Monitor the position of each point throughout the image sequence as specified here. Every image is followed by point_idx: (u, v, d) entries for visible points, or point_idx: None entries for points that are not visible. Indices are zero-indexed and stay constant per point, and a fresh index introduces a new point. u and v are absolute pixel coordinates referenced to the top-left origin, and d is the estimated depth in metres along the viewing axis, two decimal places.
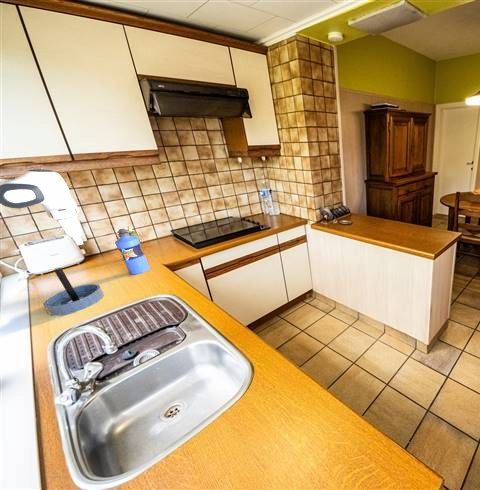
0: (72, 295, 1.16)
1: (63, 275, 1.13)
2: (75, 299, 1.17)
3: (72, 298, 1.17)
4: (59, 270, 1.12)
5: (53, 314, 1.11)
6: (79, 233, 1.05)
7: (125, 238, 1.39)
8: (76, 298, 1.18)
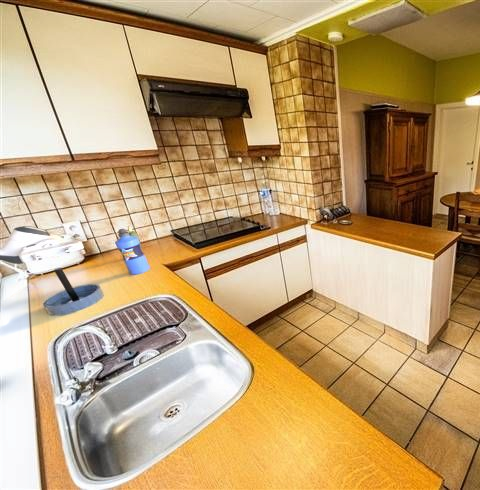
0: (72, 295, 1.16)
1: (63, 275, 1.13)
2: (75, 299, 1.17)
3: (72, 298, 1.17)
4: (59, 270, 1.12)
5: (53, 314, 1.11)
6: (19, 256, 1.19)
7: (125, 238, 1.39)
8: (76, 298, 1.18)
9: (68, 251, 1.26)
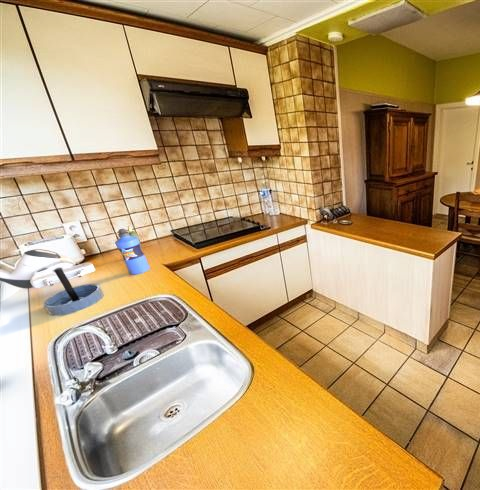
0: (72, 295, 1.16)
1: (63, 275, 1.13)
2: (75, 299, 1.17)
3: (72, 298, 1.17)
4: (59, 270, 1.12)
5: (53, 314, 1.11)
6: (31, 282, 1.16)
7: (125, 238, 1.39)
8: (76, 298, 1.18)
9: (80, 275, 1.23)
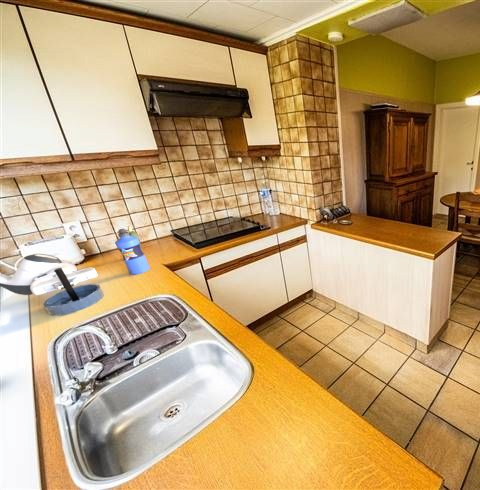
0: (72, 295, 1.16)
1: (63, 275, 1.13)
2: (75, 299, 1.17)
3: (72, 298, 1.17)
4: (59, 270, 1.12)
5: (53, 314, 1.11)
6: (30, 289, 1.11)
7: (125, 238, 1.39)
8: (76, 298, 1.18)
9: (73, 284, 1.16)
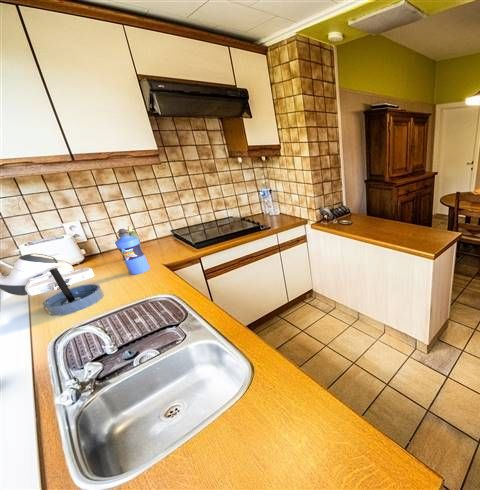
0: (68, 296, 1.14)
1: (59, 275, 1.11)
2: (71, 300, 1.15)
3: (68, 299, 1.14)
4: (55, 270, 1.10)
5: (53, 314, 1.11)
6: (25, 290, 1.08)
7: (125, 238, 1.39)
8: (72, 299, 1.15)
9: (68, 284, 1.14)
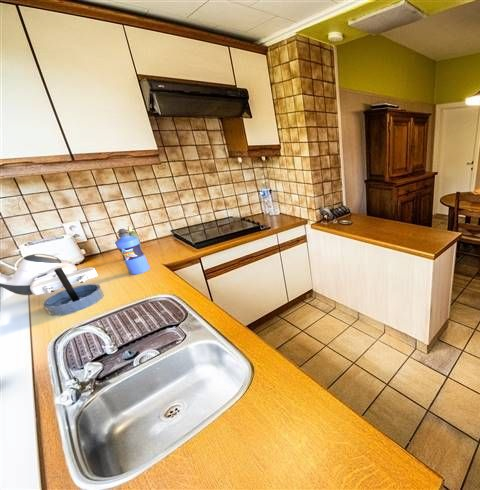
0: (72, 295, 1.16)
1: (63, 275, 1.13)
2: (75, 299, 1.17)
3: (72, 298, 1.17)
4: (59, 270, 1.12)
5: (53, 314, 1.11)
6: (30, 289, 1.10)
7: (125, 238, 1.39)
8: (76, 298, 1.18)
9: (82, 281, 1.18)
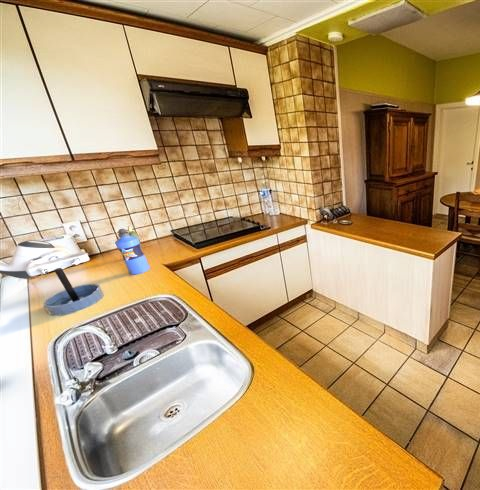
0: (72, 295, 1.16)
1: (63, 275, 1.13)
2: (75, 299, 1.17)
3: (72, 298, 1.17)
4: (59, 270, 1.12)
5: (53, 314, 1.11)
6: (26, 270, 1.18)
7: (125, 238, 1.39)
8: (76, 298, 1.18)
9: (74, 264, 1.25)
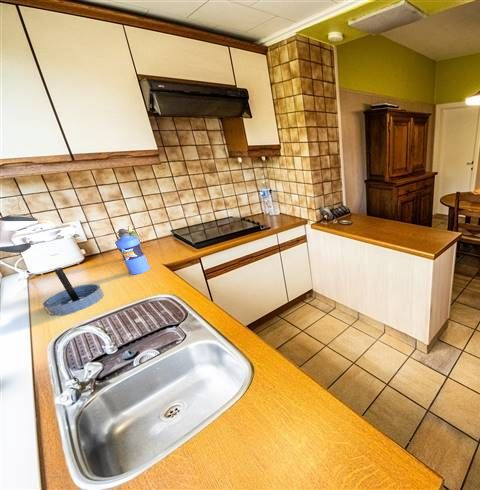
0: (72, 295, 1.16)
1: (63, 275, 1.13)
2: (75, 299, 1.17)
3: (72, 298, 1.17)
4: (59, 270, 1.12)
5: (53, 314, 1.11)
6: (10, 239, 1.19)
7: (125, 238, 1.39)
8: (76, 298, 1.18)
9: (59, 234, 1.26)
